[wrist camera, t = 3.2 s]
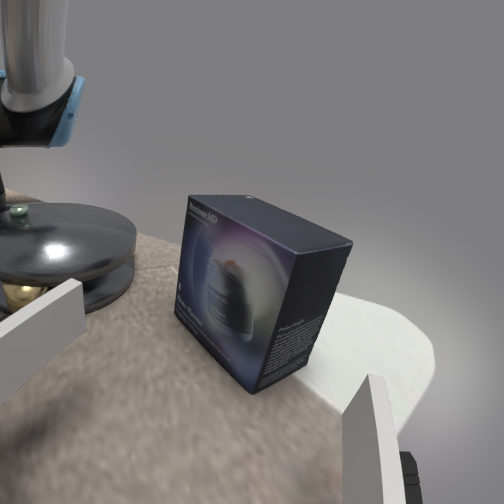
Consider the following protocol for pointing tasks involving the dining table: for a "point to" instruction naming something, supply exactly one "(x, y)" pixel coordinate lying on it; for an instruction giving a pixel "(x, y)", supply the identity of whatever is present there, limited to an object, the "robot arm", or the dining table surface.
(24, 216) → the plate
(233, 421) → the dining table surface
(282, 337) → the small box
